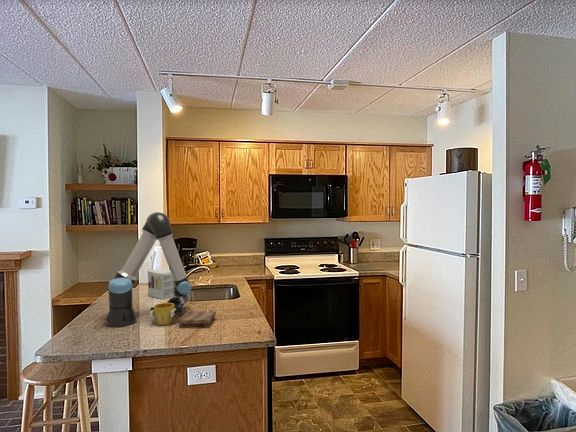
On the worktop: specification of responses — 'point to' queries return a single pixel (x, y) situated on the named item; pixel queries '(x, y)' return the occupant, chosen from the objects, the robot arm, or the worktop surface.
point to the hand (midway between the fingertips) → (161, 314)
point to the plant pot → (163, 313)
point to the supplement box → (160, 284)
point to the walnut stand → (197, 318)
